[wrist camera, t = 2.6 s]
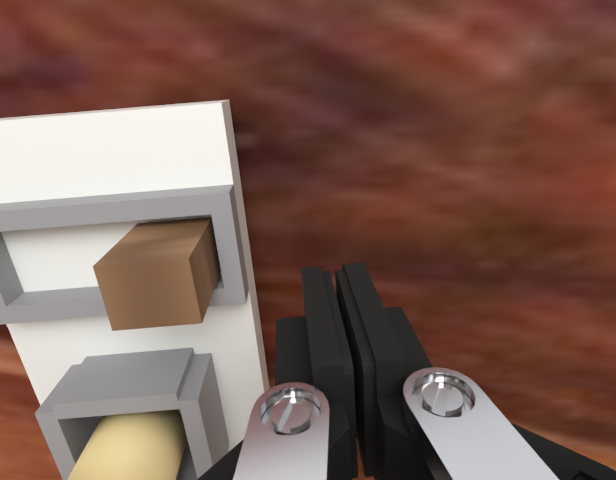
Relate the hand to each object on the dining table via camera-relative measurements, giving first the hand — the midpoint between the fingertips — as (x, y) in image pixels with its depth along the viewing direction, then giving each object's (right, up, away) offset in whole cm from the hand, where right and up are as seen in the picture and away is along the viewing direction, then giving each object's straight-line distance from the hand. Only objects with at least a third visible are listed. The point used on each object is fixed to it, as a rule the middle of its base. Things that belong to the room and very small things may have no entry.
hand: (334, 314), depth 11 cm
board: (-8, -8, +12) cm, 17 cm away
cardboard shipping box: (-6, +2, +6) cm, 9 cm away
